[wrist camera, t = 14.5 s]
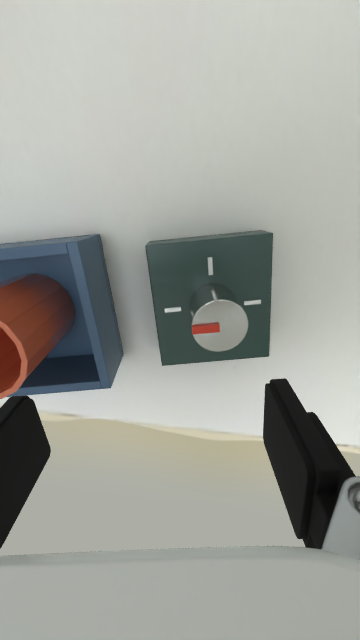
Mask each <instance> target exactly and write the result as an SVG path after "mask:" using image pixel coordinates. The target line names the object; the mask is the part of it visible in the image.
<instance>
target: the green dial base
mask: <svg viewBox="0 0 360 640" xmlns="http://www.w3.org/2000/svg"><path fill="white" fill-rule="evenodd" d="M272 244H273V233H270V232H266V231H262V230H259V231H249V232H239V233H229V234H219V235H209V236H200V237H190V238H180V239H170V240H160V241H150V242H149V243H148V244H147V245H146V246H145V247H146V254H147V261H148V269H149V276H150V283H151V290H152V297H153V304H154V311H155V319H156V326H157V333H158V340H159V347H160V354H161V362H162V366H164V365H176V364H187V363H199V362H210V361H222V360H233V359H245V358H256V357H268V356H269V344H270V311H271V277H272ZM210 283H217V284H221V285H224V286H226V287H227V288H229V289H230V290H231V292H232V293H233V294H234V296H235V297H236V299H237V300H238V302H239V304H240V305H241V307H242V308H243V310H244V311H245V313H246V315H247V318H248V330H247V333H246V335H245V337H244V339H243V340H242V341H241V342H240V343H239V344H238V345H237V346H235V347H234V348H232V349H230V350H226V351H221V352H216V351H210V350H207V349H205V348H203V347H202V346H200V345H199V344H198V343H197V342H196V340H195V339H194V337H193V334H192V329H191V321H190V312H189V302H190V299H191V297H192V295H193V293H194V292H195V291H196V290H197V289H198V288H200V287H201V286H203V285H206V284H210Z"/></svg>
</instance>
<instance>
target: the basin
mask: <svg viewBox="0 0 360 640" xmlns="http://www.w3.org/2000/svg"><path fill="white" fill-rule="evenodd" d="M28 273H34V274H40V275H44V276H47V277H49V278H51V279H53V280H55V281H56V282H58V283H59V284H60V285H61V286H62V287H63V288H64V289H65V290H66V291H67V292H68V294H69V295H70V297H71V299H72V301H73V304H74V308H75V320H74V324H73V326H72V328H71V329H70V331H69V332H68V333H67V334H66V336H65V337H64V338H63V339H62V341H61V342H60V343H59V344H58V345H57V346H56V347H55V348H54V350H53V351H52V352H51V353H50V354H49V355H48V356H47V357H46V359H45V360H44V361H43V362H42V363H41V364H40V365H39V366H38V368H37V369H36V370H35V371H34V372H33V373H32V374H31V375H30V377H29V378H28V379H27V380H26V381H25V382H24V383H23V385H22V386H21V387H20V388H19V389H18V390H17V391H16V392H14V393H12V394H10V395H8V396H6V397H11V396H23V395H35V394H47V393H59V392H70V391H82V390H94V389H106V388H111V386H112V383H113V381H114V378H115V375H116V373H117V370H118V367H119V365H120V362H121V359H122V357H123V350H122V345H121V340H120V335H119V330H118V325H117V320H116V315H115V310H114V304H113V299H112V294H111V289H110V284H109V279H108V274H107V269H106V264H105V259H104V254H103V249H102V244H101V239H100V234H95V235H85V236H75V237H65V238H56V239H46V240H36V241H26V242H16V243H6V244H0V282H3V281H5V280H7V279H10V278H12V277H15V276H19V275H22V274H28Z"/></svg>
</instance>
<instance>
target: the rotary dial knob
mask: <svg viewBox="0 0 360 640" xmlns="http://www.w3.org/2000/svg"><path fill="white" fill-rule="evenodd" d="M189 312H190V321H191V329H192V334H193V337H194V339H195V340H196V342H197V343H198V344H199V345H200V346H202V347H203V348H205V349H207V350H210V351H216V352H221V351H226V350H230V349H232V348H234V347H235V346H237V345H238V344H239V343H240V342H241V341H242V340H243V339H244V337H245V335H246V333H247V330H248V318H247V315H246V313H245V311H244V310H243V308H242V307H241V305H240V304H239V302H238V300H237V299H236V297H235V296H234V294H233V293H232V292H231V290H230V289H229V288H227V287H226V286H224V285H221V284H217V283H210V284H206V285H203V286H201V287H200V288H198V289H197V290H196V291H195V292H194V293H193V295H192V297H191V299H190V302H189Z"/></svg>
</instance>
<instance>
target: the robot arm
mask: <svg viewBox="0 0 360 640" xmlns="http://www.w3.org/2000/svg"><path fill="white" fill-rule="evenodd" d="M263 439H264V444H265V447H266V450H267V453H268V456H269V459H270V462H271V465H272V468H273V471H274V473H275V477H276V479H277V482H278V485H279V488H280V491H281V494H282V497H283V500H284V503H285V506H286V508H287V511H288V514H289V517H290V520H291V523H292V526H293V529H294V532H295V534H296V536H297V538H298V539H303V541H304V544H305V547H289V546H240V547H205V548H174V549H147V550H123V551H122V550H121V551H98V552H75V553H52V554H30V555H8V556H0V640H360V477H359V476H358V477H356V476H355V474H354V473H353V471H352V470H351V468H350V466H349V465H348V463H347V462H346V460H345V459H344V457H343V456H342V454H341V452H340V451H339V449H338V448H337V446H336V445H335V443H334V442H333V440H332V438H331V437H330V435H329V434H328V432H327V431H326V429H325V428H324V426H323V424H322V423H321V421H320V420H319V418H318V417H317V415H316V414H315V413H313V412H308V413H307V412H306V411H305V409H304V407H303V406H302V404H301V402H300V401H299V399H298V397H297V396H296V394H295V392H294V391H293V389H292V387H291V386H290V384H289V382H288V381H287V379H272V380H270V383H269V384H266V385H265V404H264V428H263ZM50 452H51V451H50V445H49V443H48V440H47V437H46V434H45V431H44V429H43V426H42V423H41V420H40V417H39V414H38V412H37V409H36V406H35V403H34V401H33V400H32V399H30V398H29V397H28V396H13V397H10V398H9V399H8V400H7V401H6V402H5V403H4V405H3V406H2V407H1V408H0V548H1V547H2V545H3V543H4V541H5V540H6V538H7V536H8V534H9V532H10V530H11V528H12V526H13V524H14V523H15V521H16V519H17V517H18V515H19V513H20V511H21V509H22V507H23V506H24V504H25V502H26V500H27V498H28V496H29V494H30V493H31V491H32V489H33V487H34V485H35V483H36V481H37V479H38V477H39V475H40V474H41V472H42V470H43V468H44V466H45V464H46V462H47V460H48V458H49V456H50Z"/></svg>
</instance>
